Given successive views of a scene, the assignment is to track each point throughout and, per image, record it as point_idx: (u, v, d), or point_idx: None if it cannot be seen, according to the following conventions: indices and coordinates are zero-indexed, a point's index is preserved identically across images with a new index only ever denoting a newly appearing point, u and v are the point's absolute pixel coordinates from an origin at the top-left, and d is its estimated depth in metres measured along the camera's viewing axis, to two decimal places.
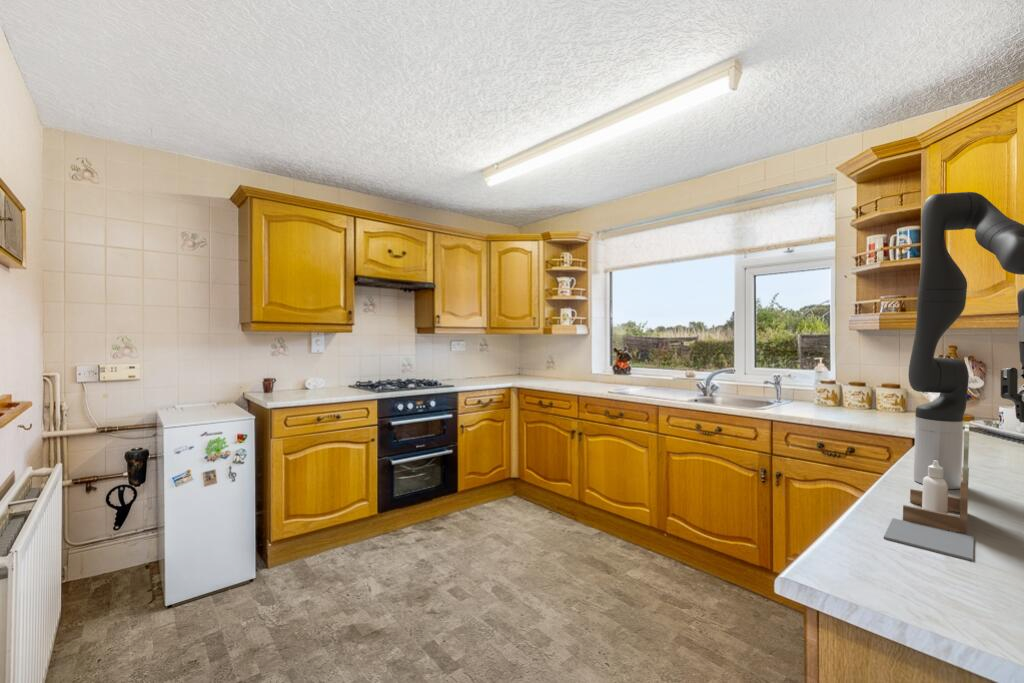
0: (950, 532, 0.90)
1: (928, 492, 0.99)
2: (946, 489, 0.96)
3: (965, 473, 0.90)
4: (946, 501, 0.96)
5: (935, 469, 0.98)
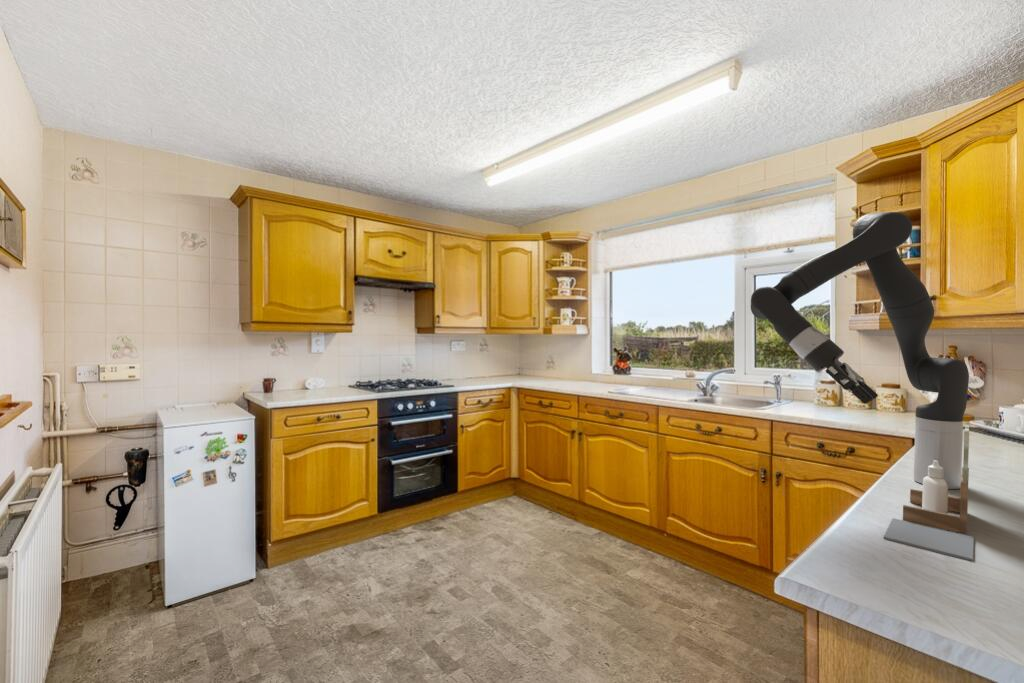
0: (950, 532, 0.90)
1: (928, 492, 0.99)
2: (946, 489, 0.96)
3: (965, 473, 0.90)
4: (946, 501, 0.96)
5: (935, 469, 0.98)
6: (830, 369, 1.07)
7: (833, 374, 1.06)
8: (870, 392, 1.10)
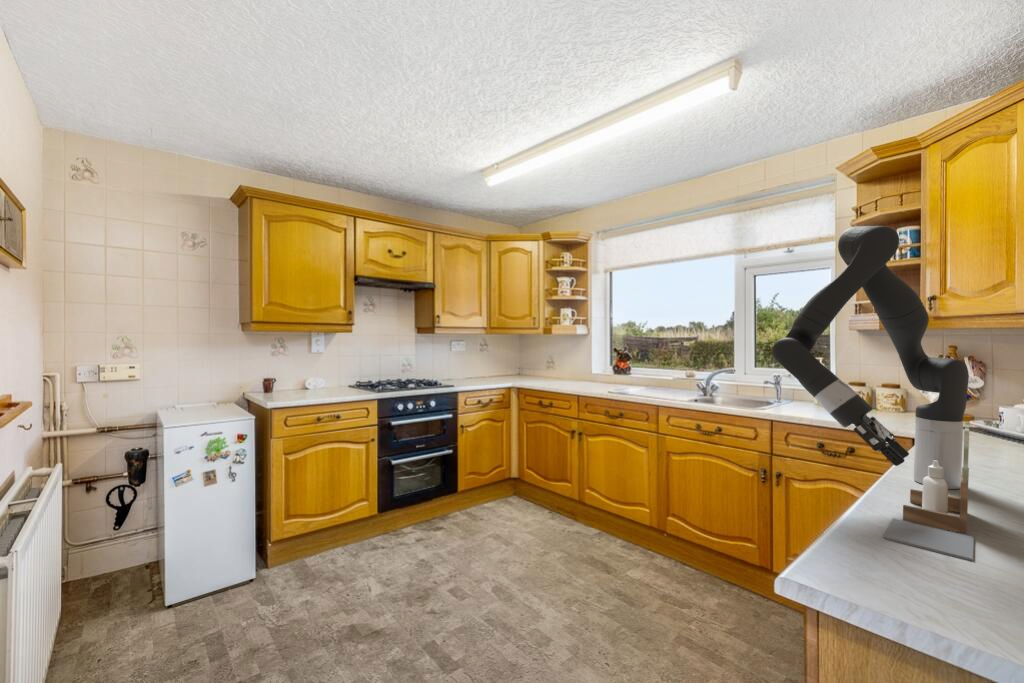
0: (950, 532, 0.90)
1: (928, 492, 0.99)
2: (946, 489, 0.96)
3: (965, 473, 0.90)
4: (946, 501, 0.96)
5: (935, 469, 0.98)
6: (858, 428, 1.03)
7: (862, 434, 1.03)
8: (901, 450, 1.06)
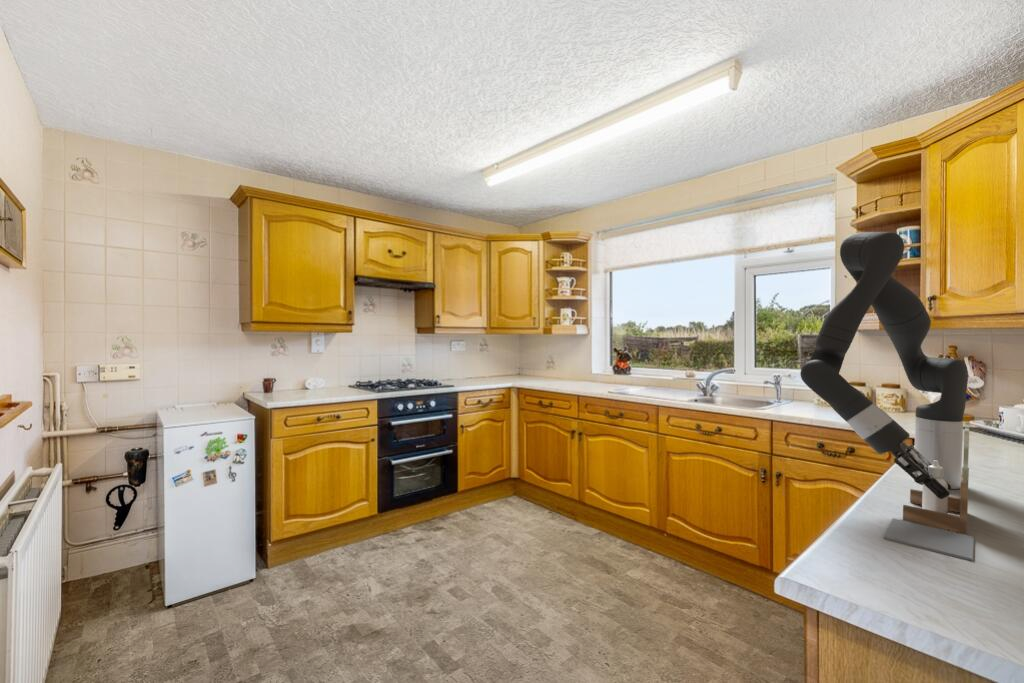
0: (950, 532, 0.90)
1: (928, 492, 0.99)
2: None
3: (965, 473, 0.90)
4: (946, 501, 0.96)
5: (935, 469, 0.98)
6: (901, 461, 0.98)
7: (904, 466, 0.98)
8: None
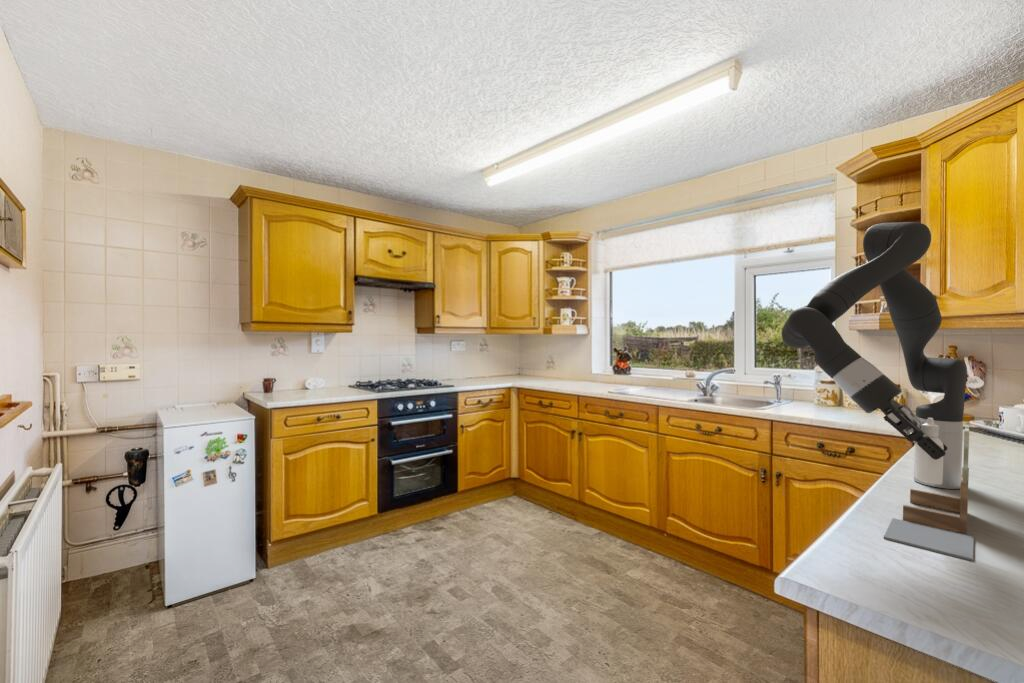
0: (950, 532, 0.90)
1: (921, 453, 0.87)
2: None
3: (965, 473, 0.90)
4: (941, 462, 0.85)
5: (929, 427, 0.87)
6: (891, 417, 0.87)
7: (895, 423, 0.87)
8: None
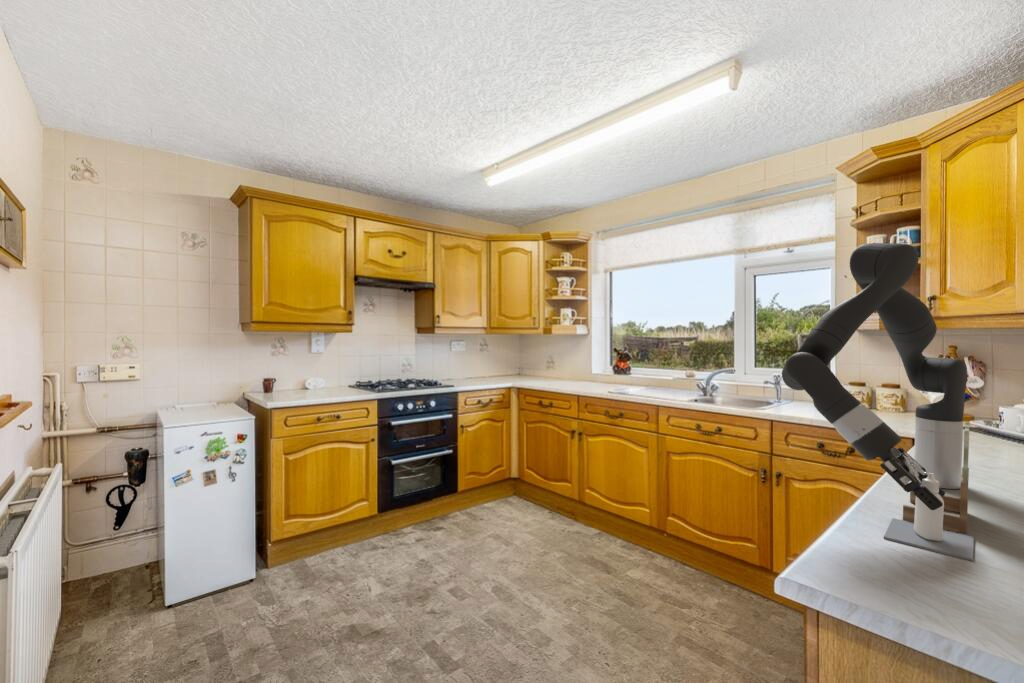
0: (950, 532, 0.90)
1: (921, 508, 0.87)
2: (942, 506, 0.85)
3: (965, 473, 0.90)
4: (941, 519, 0.85)
5: (930, 483, 0.87)
6: (887, 464, 0.87)
7: (891, 471, 0.87)
8: None
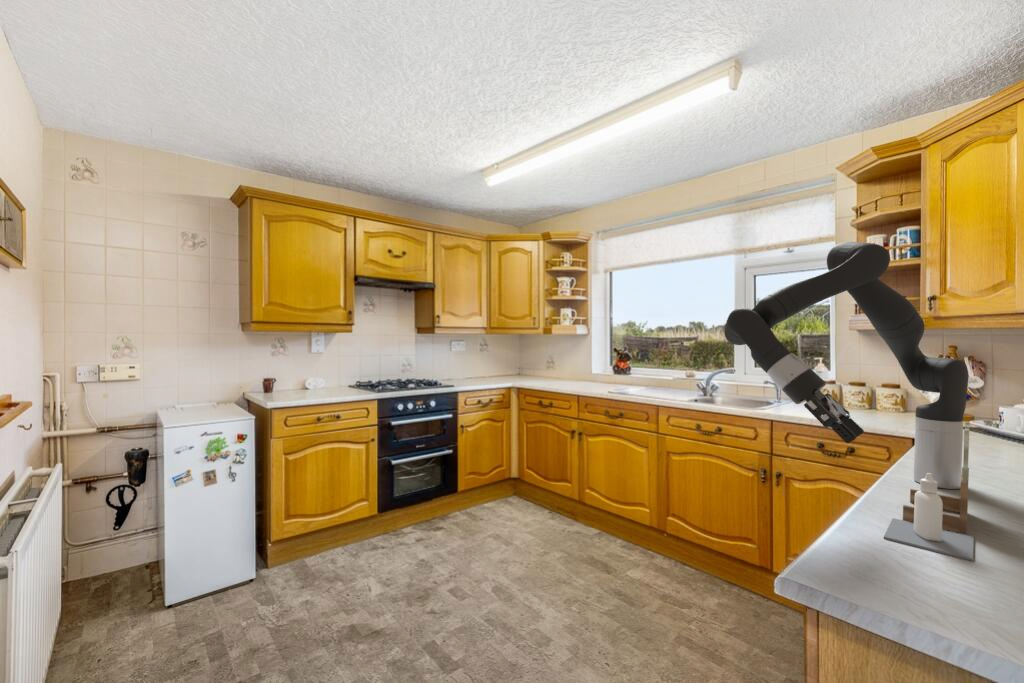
0: (950, 532, 0.90)
1: (920, 509, 0.87)
2: (940, 506, 0.85)
3: (965, 473, 0.90)
4: (940, 519, 0.85)
5: (928, 483, 0.87)
6: (809, 404, 0.96)
7: (812, 409, 0.95)
8: (855, 428, 0.99)
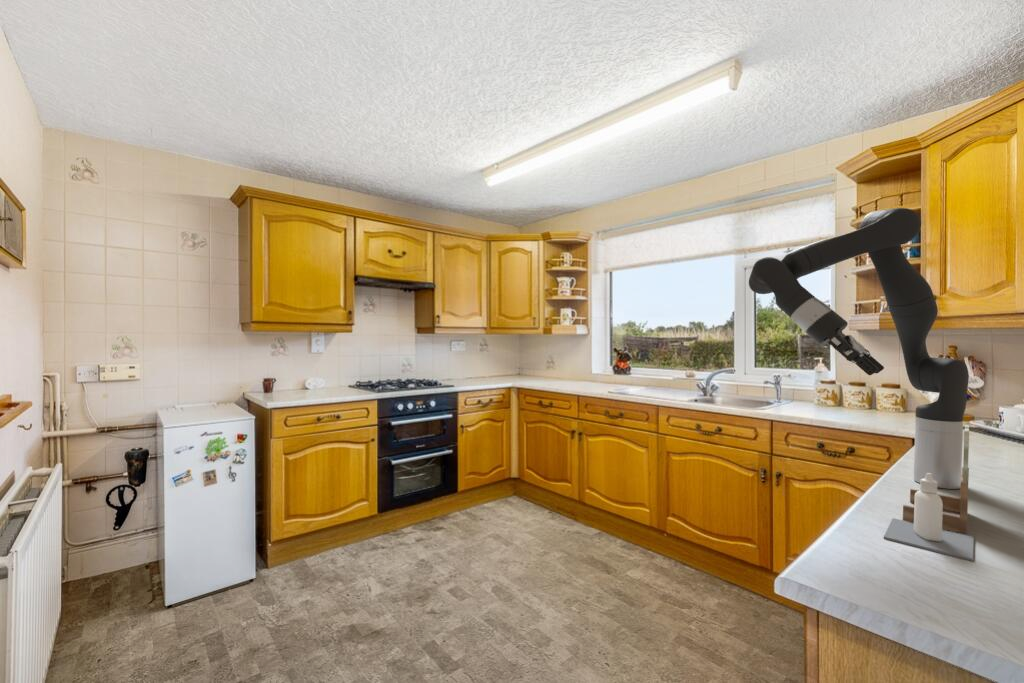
0: (950, 532, 0.90)
1: (920, 509, 0.87)
2: (940, 506, 0.85)
3: (965, 473, 0.90)
4: (940, 519, 0.85)
5: (928, 483, 0.87)
6: (833, 340, 1.02)
7: (836, 345, 1.02)
8: (876, 364, 1.05)
